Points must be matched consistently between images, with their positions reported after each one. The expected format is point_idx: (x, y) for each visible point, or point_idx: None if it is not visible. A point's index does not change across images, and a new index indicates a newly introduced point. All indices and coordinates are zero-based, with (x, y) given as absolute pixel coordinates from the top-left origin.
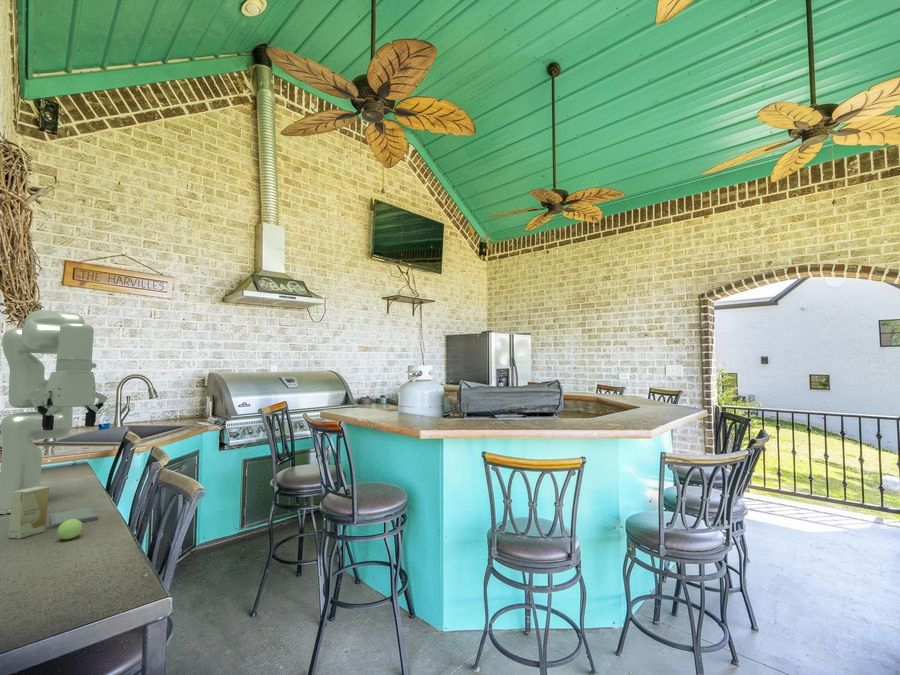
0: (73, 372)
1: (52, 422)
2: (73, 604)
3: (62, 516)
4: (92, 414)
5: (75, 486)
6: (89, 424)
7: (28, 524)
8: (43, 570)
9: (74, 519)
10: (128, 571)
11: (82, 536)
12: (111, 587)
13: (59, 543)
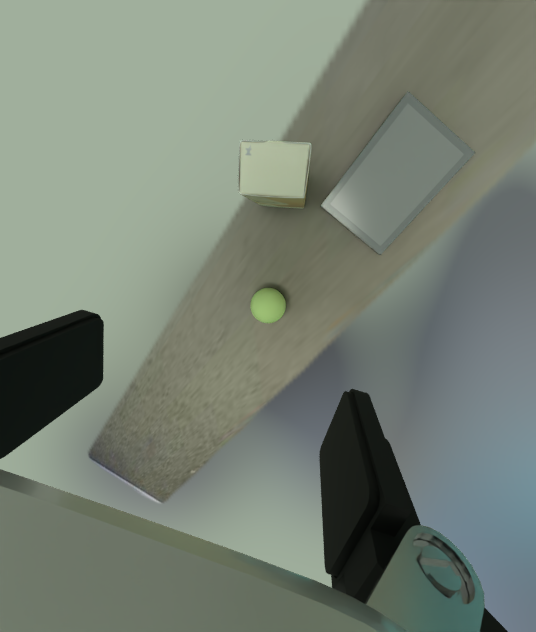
0: None
1: (49, 416)
2: (136, 450)
3: (380, 162)
4: (327, 559)
5: None
6: (326, 444)
7: (269, 204)
8: (176, 368)
9: (268, 315)
10: (194, 453)
11: None
12: (165, 459)
13: None
